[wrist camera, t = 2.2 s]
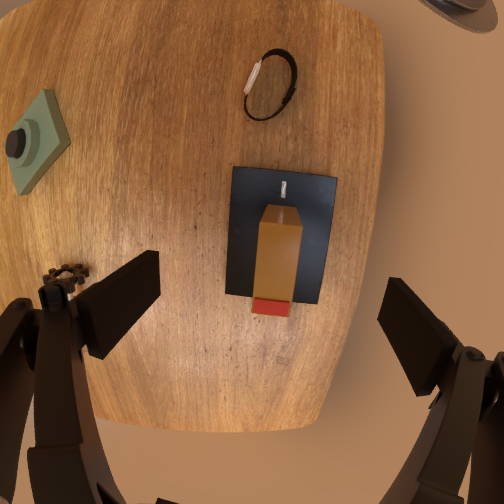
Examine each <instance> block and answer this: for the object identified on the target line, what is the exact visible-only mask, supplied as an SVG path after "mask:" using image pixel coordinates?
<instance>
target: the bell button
mask: <svg viewBox="0 0 504 504" xmlns="http://www.w3.org/2000/svg"><path fill="white" fill-rule="evenodd" d="M25 146H26V134H25V131H23V130H13V131H11V132H10V133H9V135H8V137H7V140H6V145H5V150H6V154H7V156H8V157H19V156H21V155H22V154H23V152H24V149H25Z"/></svg>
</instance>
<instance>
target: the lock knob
mask: <svg viewBox="0 0 504 504" xmlns="http://www.w3.org/2000/svg"><path fill="white" fill-rule="evenodd" d="M302 230H303V226H302V223H301V220H300V217H299V214H298V211H297V208H296V207H289V206H280V205H271V204H268V205H267V207H266V209H265V212H264V214H263V216H262V218H261V221H260V223H259V234H258V245H257V256H256V267H255V277H254V288H253V299H252V310H251V312H252V313H256V314H264V315H272V316H281V317H289V316H290V311H291V305H292V299H293V293H294V286H295V280H296V273H297V266H298V260H299V252H300V245H301V238H302Z"/></svg>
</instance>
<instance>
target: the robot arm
mask: <svg viewBox="0 0 504 504" xmlns="http://www.w3.org/2000/svg"><path fill="white" fill-rule="evenodd" d="M447 1H448V2H450V3H452V4H454V5H456V6H458V7H460V8H462V9H465V10H468V11H477V10H479V9H481V8H482V7H483V6H484V5H485V4H486V2H487V0H447ZM38 293H39V297H40V302H41V305H42V310H40V309H34V308H33V304H32V301H31V299H29V298H19V299H18V298H17V299H15V300H14V301H12V302H11V303H10V304H9V305H8V307H7V308H6V309H5V311H4V312H3V313H2V315H1V316H0V504H12V500H13V496H14V491H15V485H16V478H17V469H18V461H19V455H20V449H21V443H22V438H23V433H24V428H25V424H26V419H27V415H28V411H29V407H30V404H31V400H32V397H33V393H34V428H35V441H36V444H35V447H32V448H31V447H30V448H29V449H28V451H27V461H28V469H29V476H30V482H31V488H32V493H33V498H34V502H35V504H126V502H125V500H124V498H123V496H122V495H121V493H120V491H119V490H118V488H117V486H116V484H115V482H114V479H113V476H112V474H111V471H110V468H109V465H108V463H107V459H106V456H105V453H104V450H103V447H102V444H101V440H100V437H99V433H98V429H97V426H96V421H95V417H94V413H93V409H92V404H91V399H90V394H89V389H88V384H87V378H86V371H85V365H84V357H83V353H82V350H81V349H82V348H83V347H84V346H85V345H86V346H87V349H88V353H89V355H90V356H93V357H96V358H98V359H101V360H103V359H104V358H105V357H106V356H107V355H108V353H109V352H110V351H111V350H112V349H113V348H114V347H115V345H116V344H117V343H118V342H119V341H120V340H121V338H122V337H123V336H124V335H125V334H126V333H127V332H128V330H129V329H130V328H131V327H132V326H133V325H134V324H135V323H136V321H137V320H138V319H139V318H140V317H141V316H142V315H143V314H144V313H145V311H146V310H147V309H148V308H149V307H150V306H151V305H152V304H153V303H154V302H155V300H156V299H157V298H158V297H159V296H160V295H161V291H160V271H159V251H152V250H146V251H145V252H143V253H142V254H140V255H139V256H137V257H136V258H134V259H133V260H131V261H129V262H128V263H126V264H125V265H124V266H122V267H121V268H119V269H118V270H116V271H115V272H113V273H112V274H110V275H109V276H107V277H106V278H104V279H103V280H102V281H100V282H97V283H94V284H92V285H91V286H90V287H88V288H87V289H85V290H84V291H82V293H80V294H78V295H77V296H75V297H74V298H73V299H71V300H70V301H69V299H68V294H67V289H66V286H65V285H64V284H63V283H50V284H46V285H44V286H42V287H41V288H40V289H39V290H38ZM377 320H378V322H379V323H380V325H381V327H382V329H383V331H384V333H385V334H386V336H387V338H388V340H389V342H390V344H391V346H392V348H393V350H394V352H395V353H396V355H397V357H398V359H399V361H400V363H401V365H402V367H403V369H404V371H405V373H406V375H407V377H408V380H409V381H410V384H411V386H412V388H413V390H414V392H415V394H416V396H417V397H418V396H426V395H430V394H431V393H432V391H433V389H434V388H435V386H436V384H437V385H438V387H439V389H440V391H439V392H438V394H437V395H436V397H435V399H434V400H433V402H432V403H431V405H430V406H429V408H428V409H431V410H430V412H429V415H428V417H427V420H426V422H425V424H424V426H423V428H422V431H421V433H420V435H419V437H418V439H417V441H416V443H415V445H414V447H413V449H412V451H411V453H410V454H409V457H408V458H407V460H406V462H405V464H404V465H403V467H402V469H401V470H400V472H399V474H398V476H397V477H396V479H395V480H394V482H393V483H392V485H391V487H390V488H389V490H388V491H387V493H386V494H385V496H384V497H383V498H382V500H381V501H380V503H379V504H464V498H462V497H459V496H458V492H459V489H460V486H461V484H462V481H463V478H464V475H465V472H466V469H467V466H468V462H469V459H470V455H471V474H470V484H469V493H468V500H467V504H504V352H498V354H497V356H496V357H495V359H494V361H489V360H486V359H485V356H484V354H483V353H482V352H481V351H479V350H478V349H476V348H474V347H470V346H466V347H464V346H463V345H462V343H461V342H460V341H459V340H458V338H457V337H456V336H455V335H454V334H453V332H452V331H451V330H449V328H448V327H447V326H446V324H445V323H444V322H442V321H441V320H439V319H438V318H437V317H436V316H435V315H434V314H433V313H432V312H431V311H430V309H429V308H428V307H427V306H426V305H425V304H424V303H423V302H422V301H421V299H420V298H419V297H418V296H417V295H416V294H415V293H414V292H413V291H412V290H411V289H410V288H409V286H408V285H407V284H406V283H405V282H404V281H403V280H402V279H401V278H394V277H389V280H388V284H387V288H386V291H385V295H384V298H383V302H382V306H381V309H380V312H379V315H378V318H377ZM20 344H21V345H20ZM497 398H498V399H497ZM496 399H497V401H496ZM495 401H496V403H495ZM471 452H472V454H471ZM156 504H178V503H174V502H171V501H167V500H164V499H160V498H157V501H156Z"/></svg>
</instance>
